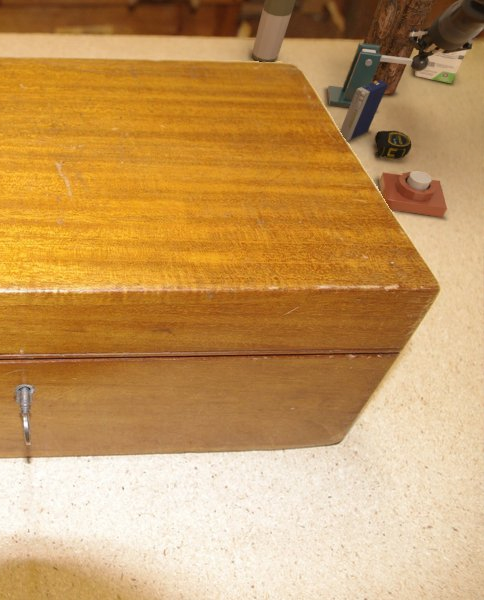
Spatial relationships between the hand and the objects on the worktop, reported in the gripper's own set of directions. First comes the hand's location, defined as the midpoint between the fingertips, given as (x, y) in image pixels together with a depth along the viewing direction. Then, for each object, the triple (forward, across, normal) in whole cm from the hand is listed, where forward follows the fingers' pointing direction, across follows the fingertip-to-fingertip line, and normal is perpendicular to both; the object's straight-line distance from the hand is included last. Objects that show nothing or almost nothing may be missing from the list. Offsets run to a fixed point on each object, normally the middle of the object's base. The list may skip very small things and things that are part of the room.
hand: (423, 52), depth 153 cm
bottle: (+20, +31, -1) cm, 37 cm away
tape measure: (-4, +5, +24) cm, 25 cm away
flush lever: (+3, +5, +3) cm, 7 cm away
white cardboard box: (+22, -10, -3) cm, 24 cm away
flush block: (-15, +2, +34) cm, 38 cm away
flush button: (-18, +2, +32) cm, 36 cm away
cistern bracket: (+10, +11, +10) cm, 17 cm away
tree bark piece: (+18, +4, +1) cm, 19 cm away
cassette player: (-1, +11, +20) cm, 23 cm away
